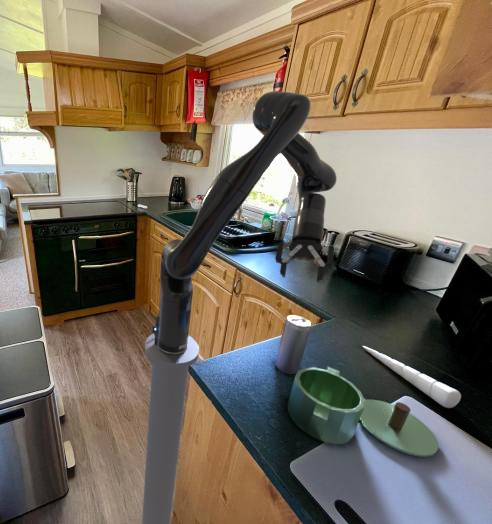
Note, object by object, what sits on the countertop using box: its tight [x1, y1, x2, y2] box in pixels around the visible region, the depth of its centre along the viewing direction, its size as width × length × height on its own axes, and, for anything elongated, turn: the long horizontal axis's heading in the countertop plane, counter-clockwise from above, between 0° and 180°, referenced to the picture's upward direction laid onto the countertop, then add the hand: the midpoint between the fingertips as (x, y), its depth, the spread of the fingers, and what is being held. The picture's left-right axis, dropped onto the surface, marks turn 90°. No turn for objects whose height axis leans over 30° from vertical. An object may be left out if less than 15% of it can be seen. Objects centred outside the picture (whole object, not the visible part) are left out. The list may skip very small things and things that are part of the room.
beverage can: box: [274, 314, 312, 375], centre depth 77 cm, size 6×6×15 cm
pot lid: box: [359, 399, 439, 458], centre depth 61 cm, size 14×14×6 cm
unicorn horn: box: [362, 345, 462, 409], centre depth 78 cm, size 5×24×5 cm, turn 6°
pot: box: [287, 366, 366, 445], centre depth 63 cm, size 13×18×8 cm
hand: (300, 278), depth 80 cm, fingers open, 8 cm apart
